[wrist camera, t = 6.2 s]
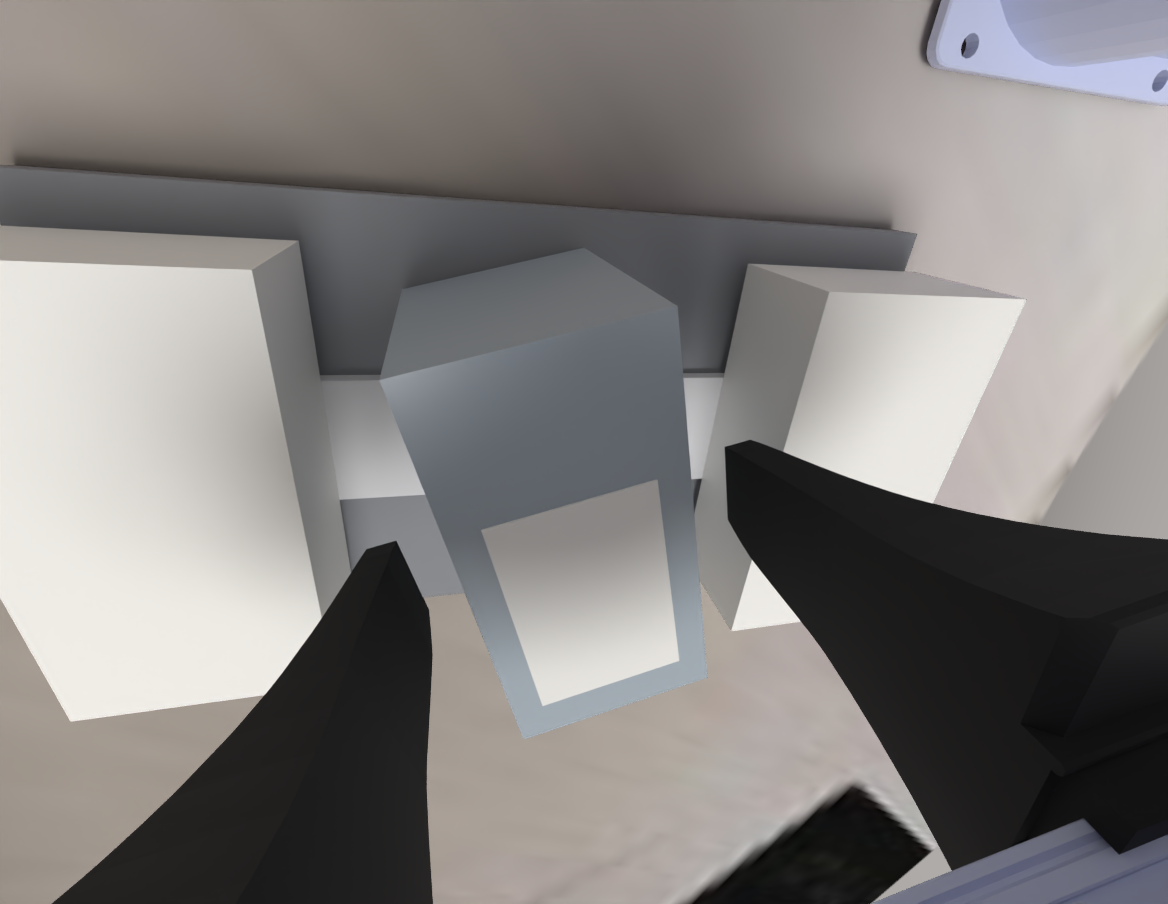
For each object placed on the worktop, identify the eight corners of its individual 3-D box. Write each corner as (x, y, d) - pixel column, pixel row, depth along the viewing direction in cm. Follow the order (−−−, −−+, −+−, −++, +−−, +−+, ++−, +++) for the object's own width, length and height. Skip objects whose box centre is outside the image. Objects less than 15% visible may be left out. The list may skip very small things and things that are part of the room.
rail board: (892, 229, 16) (1047, 255, 12) (790, 542, 22) (872, 632, 18) (12, 165, 11) (-243, 171, 7) (173, 600, 17) (86, 748, 12)
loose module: (584, 247, 13) (679, 306, 8) (629, 527, 18) (708, 679, 13) (402, 289, 13) (378, 380, 8) (497, 567, 17) (524, 741, 12)
